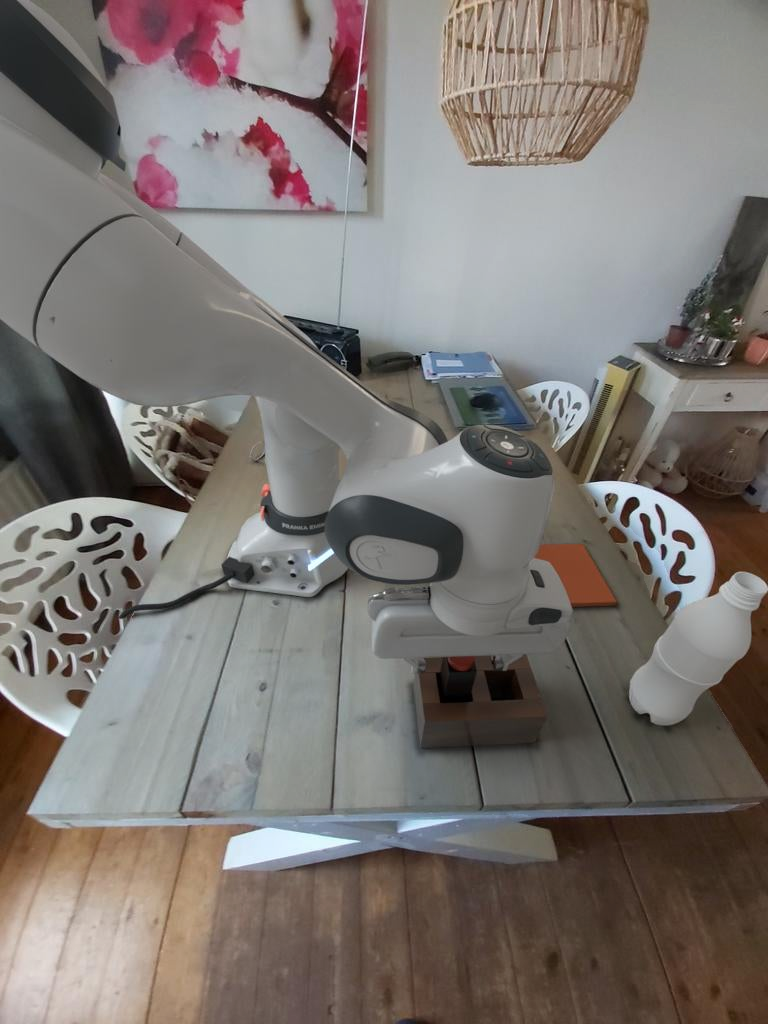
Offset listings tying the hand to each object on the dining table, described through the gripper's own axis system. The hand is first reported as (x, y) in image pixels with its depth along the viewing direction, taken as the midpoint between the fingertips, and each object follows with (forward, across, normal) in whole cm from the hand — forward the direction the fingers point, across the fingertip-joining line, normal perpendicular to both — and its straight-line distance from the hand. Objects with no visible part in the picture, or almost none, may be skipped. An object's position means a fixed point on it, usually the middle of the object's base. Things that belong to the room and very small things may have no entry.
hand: (457, 666), depth 51 cm
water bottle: (+12, +28, 0) cm, 31 cm away
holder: (+12, +3, 0) cm, 12 cm away
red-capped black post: (+12, 0, 0) cm, 12 cm away
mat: (+12, +24, +24) cm, 36 cm away
